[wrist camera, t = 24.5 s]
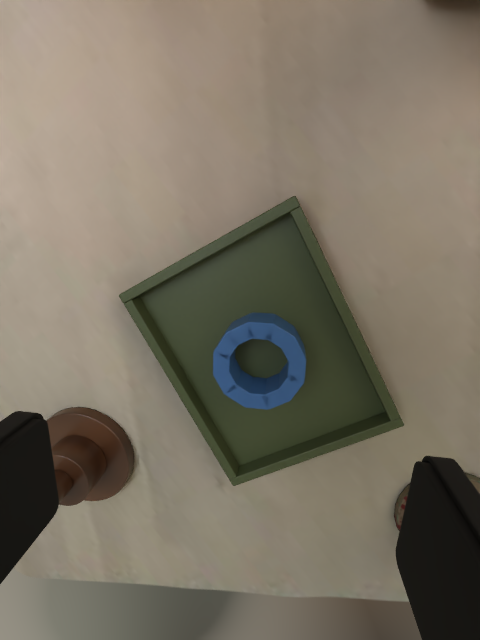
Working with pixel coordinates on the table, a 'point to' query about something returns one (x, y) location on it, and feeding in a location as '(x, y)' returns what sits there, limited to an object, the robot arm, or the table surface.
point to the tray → (264, 345)
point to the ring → (253, 388)
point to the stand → (88, 455)
